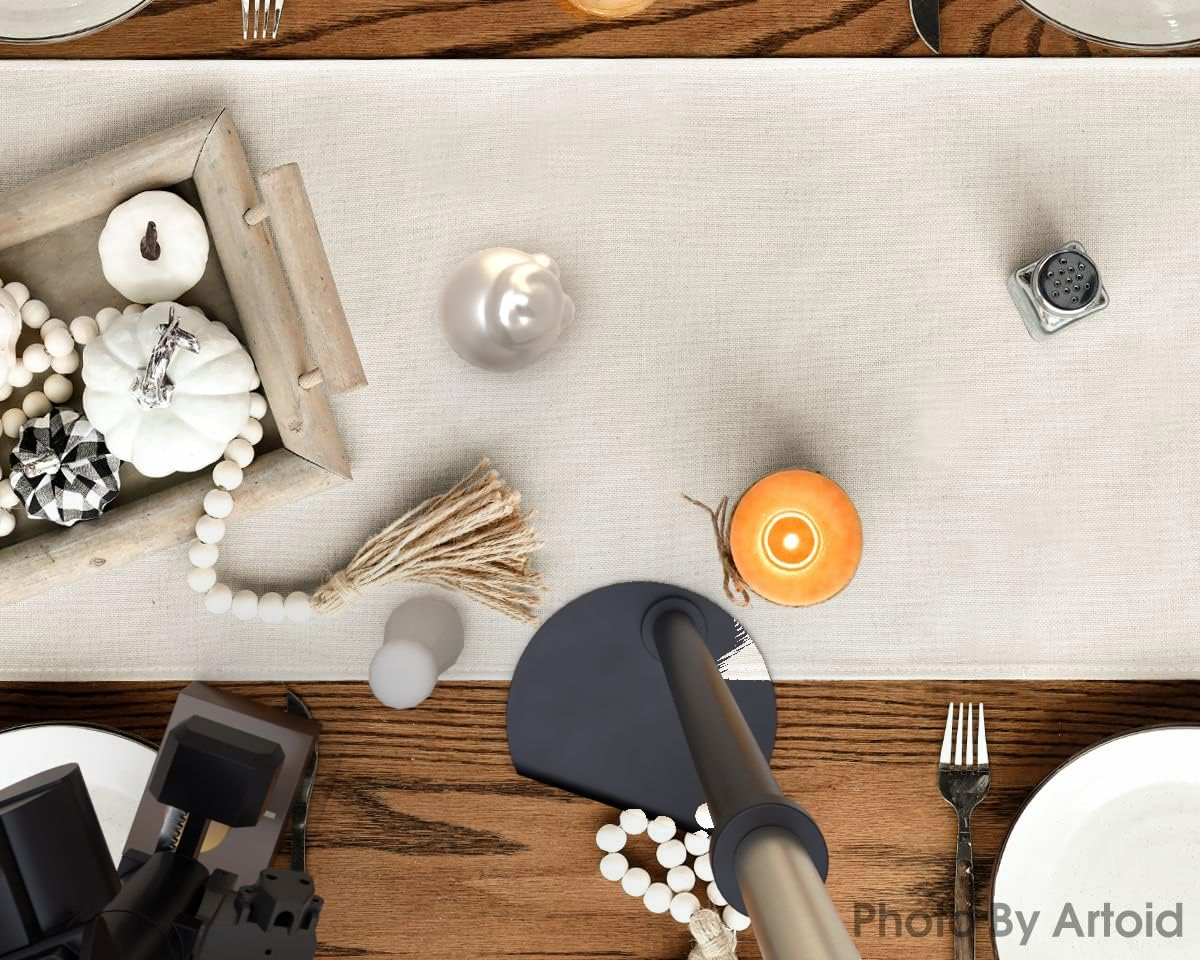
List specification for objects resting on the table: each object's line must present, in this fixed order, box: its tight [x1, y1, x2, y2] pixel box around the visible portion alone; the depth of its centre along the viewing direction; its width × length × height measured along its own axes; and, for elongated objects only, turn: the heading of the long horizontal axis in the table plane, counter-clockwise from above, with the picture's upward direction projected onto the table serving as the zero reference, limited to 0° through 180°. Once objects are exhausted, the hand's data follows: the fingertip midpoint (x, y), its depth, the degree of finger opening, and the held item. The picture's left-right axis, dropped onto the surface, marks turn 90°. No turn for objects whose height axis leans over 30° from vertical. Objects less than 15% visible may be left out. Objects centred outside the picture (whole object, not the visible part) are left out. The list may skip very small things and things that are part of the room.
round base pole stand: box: [505, 580, 863, 960], centre depth 52 cm, size 20×20×50 cm
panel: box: [121, 680, 324, 891], centre depth 75 cm, size 12×10×3 cm
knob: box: [164, 805, 233, 852], centre depth 71 cm, size 4×4×4 cm
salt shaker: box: [368, 595, 465, 710], centre depth 71 cm, size 6×6×13 cm
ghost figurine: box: [437, 246, 576, 374], centre depth 73 cm, size 9×10×10 cm
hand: (224, 832), depth 66 cm, fingers open, 9 cm apart
